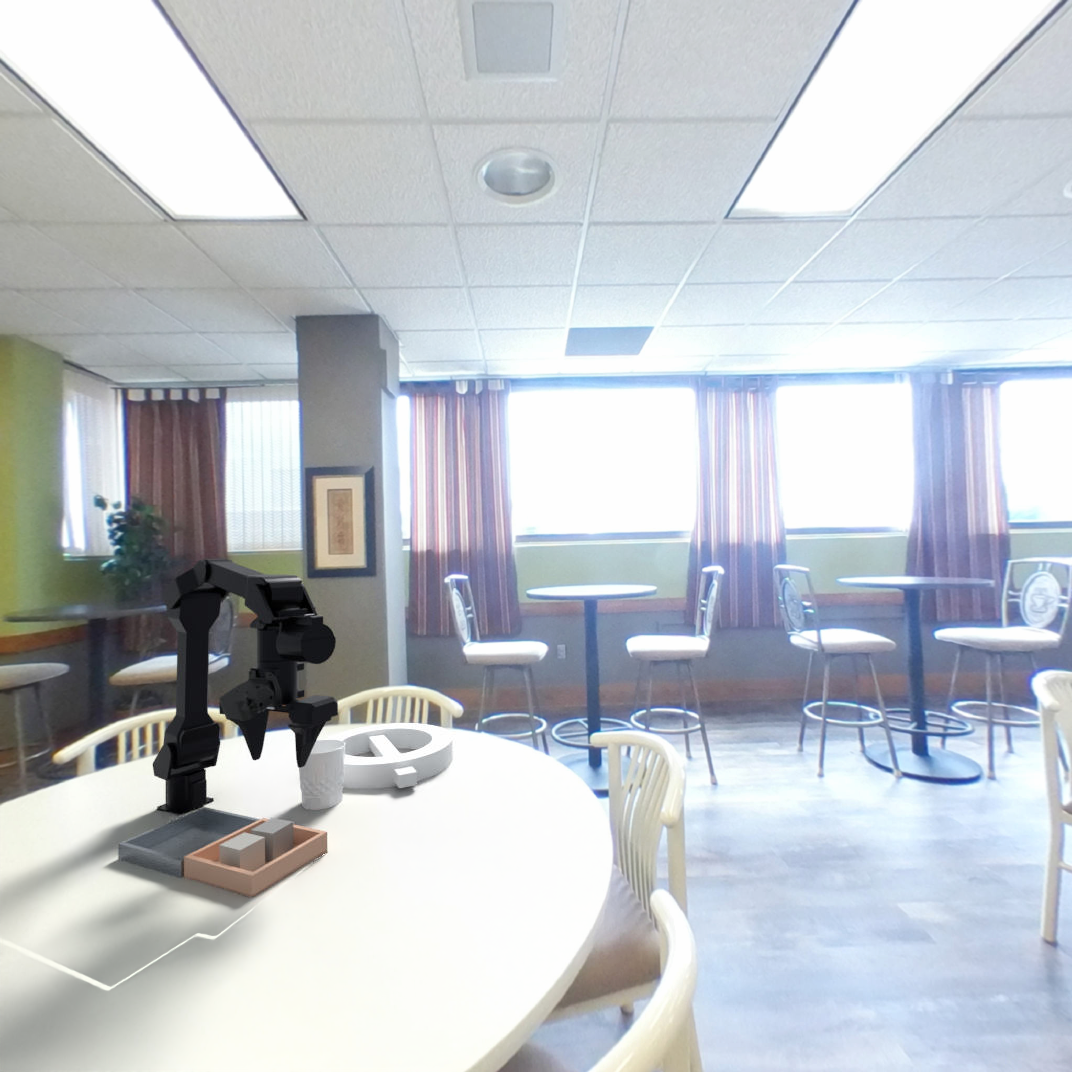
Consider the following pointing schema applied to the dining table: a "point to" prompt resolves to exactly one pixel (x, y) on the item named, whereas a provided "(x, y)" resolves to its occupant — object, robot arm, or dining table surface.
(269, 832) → the grey cube
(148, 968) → the dining table surface
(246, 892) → the dish
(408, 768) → the ring with crossbar
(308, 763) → the white cup
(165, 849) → the bin
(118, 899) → the dining table surface
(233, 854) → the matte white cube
